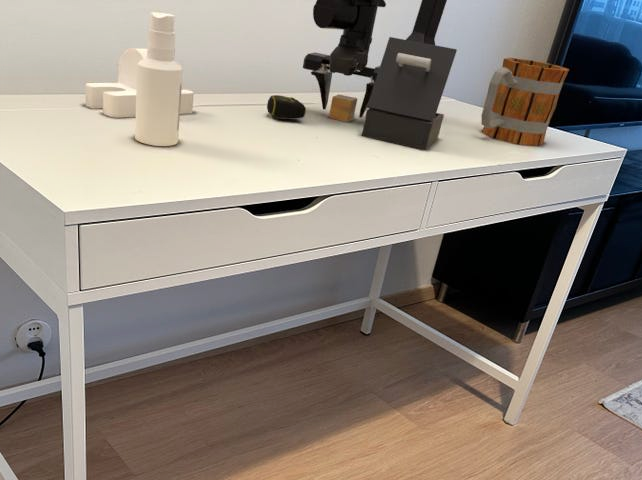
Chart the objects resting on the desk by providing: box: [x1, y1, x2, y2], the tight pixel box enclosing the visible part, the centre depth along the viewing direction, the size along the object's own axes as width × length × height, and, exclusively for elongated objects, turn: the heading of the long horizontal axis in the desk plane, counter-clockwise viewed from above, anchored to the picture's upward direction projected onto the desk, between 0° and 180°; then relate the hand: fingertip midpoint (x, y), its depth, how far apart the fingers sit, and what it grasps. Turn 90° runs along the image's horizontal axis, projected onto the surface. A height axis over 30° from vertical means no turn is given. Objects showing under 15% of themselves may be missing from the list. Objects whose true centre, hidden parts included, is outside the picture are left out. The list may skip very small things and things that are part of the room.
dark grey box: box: [361, 108, 445, 151], centre depth 129 cm, size 13×13×5 cm
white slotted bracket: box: [85, 47, 195, 119], centre depth 119 cm, size 10×18×10 cm, turn 133°
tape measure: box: [266, 94, 307, 120], centre depth 130 cm, size 7×7×4 cm
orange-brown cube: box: [328, 94, 358, 123], centre depth 137 cm, size 4×4×4 cm
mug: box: [481, 57, 570, 147], centre depth 140 cm, size 20×14×15 cm
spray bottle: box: [134, 11, 184, 147], centre depth 100 cm, size 7×7×18 cm
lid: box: [367, 36, 458, 122], centre depth 120 cm, size 13×13×4 cm
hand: (342, 113), depth 138 cm, fingers open, 8 cm apart
